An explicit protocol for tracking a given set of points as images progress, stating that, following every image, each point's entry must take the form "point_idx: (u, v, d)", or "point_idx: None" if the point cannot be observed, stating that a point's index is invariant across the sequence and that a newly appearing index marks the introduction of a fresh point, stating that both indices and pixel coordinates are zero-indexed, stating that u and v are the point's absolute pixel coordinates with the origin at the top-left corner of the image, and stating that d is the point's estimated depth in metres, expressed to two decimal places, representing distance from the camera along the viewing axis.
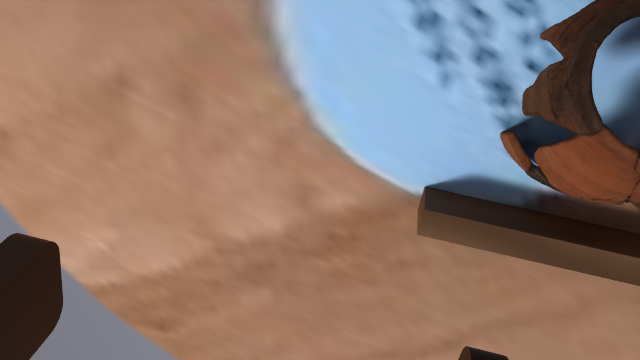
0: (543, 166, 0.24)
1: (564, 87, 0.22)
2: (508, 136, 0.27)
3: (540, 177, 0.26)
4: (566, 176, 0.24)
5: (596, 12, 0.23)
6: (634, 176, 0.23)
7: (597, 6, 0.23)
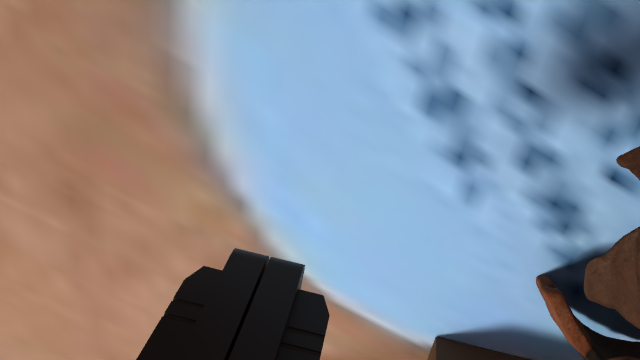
0: None
1: None
2: (552, 299, 0.17)
3: None
4: None
5: None
6: None
7: None
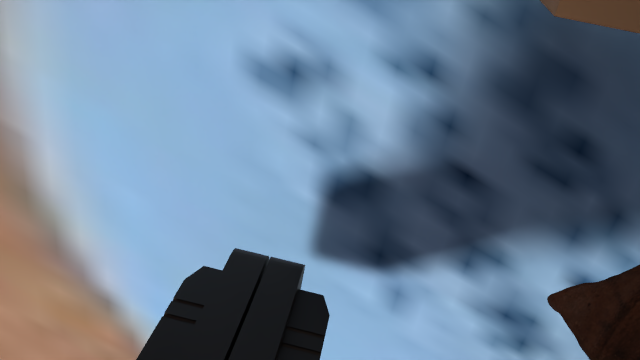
0: None
1: None
2: None
3: None
4: None
5: None
6: None
7: None
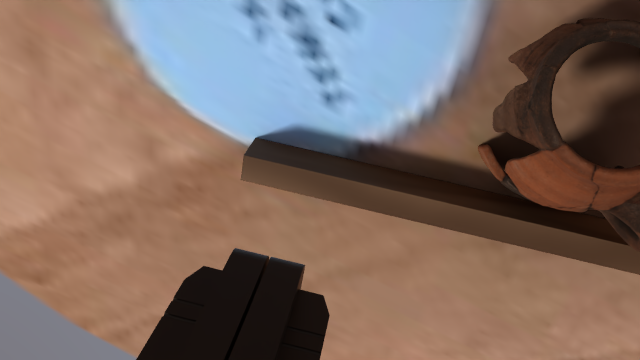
0: (513, 177, 0.27)
1: (527, 107, 0.24)
2: (483, 149, 0.30)
3: (512, 187, 0.28)
4: (533, 186, 0.26)
5: (557, 38, 0.25)
6: (593, 187, 0.25)
7: (558, 32, 0.25)
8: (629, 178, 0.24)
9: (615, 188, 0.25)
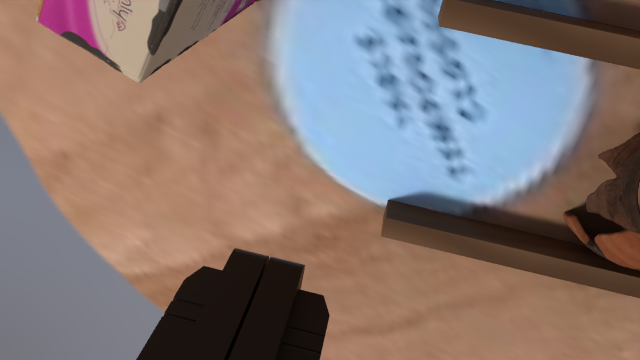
0: (601, 246, 0.35)
1: (618, 200, 0.32)
2: (572, 219, 0.38)
3: (597, 251, 0.36)
4: (618, 254, 0.34)
5: (638, 144, 0.33)
6: None
7: (639, 139, 0.33)
8: None
9: None
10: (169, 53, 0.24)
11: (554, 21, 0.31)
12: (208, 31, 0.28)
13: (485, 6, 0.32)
